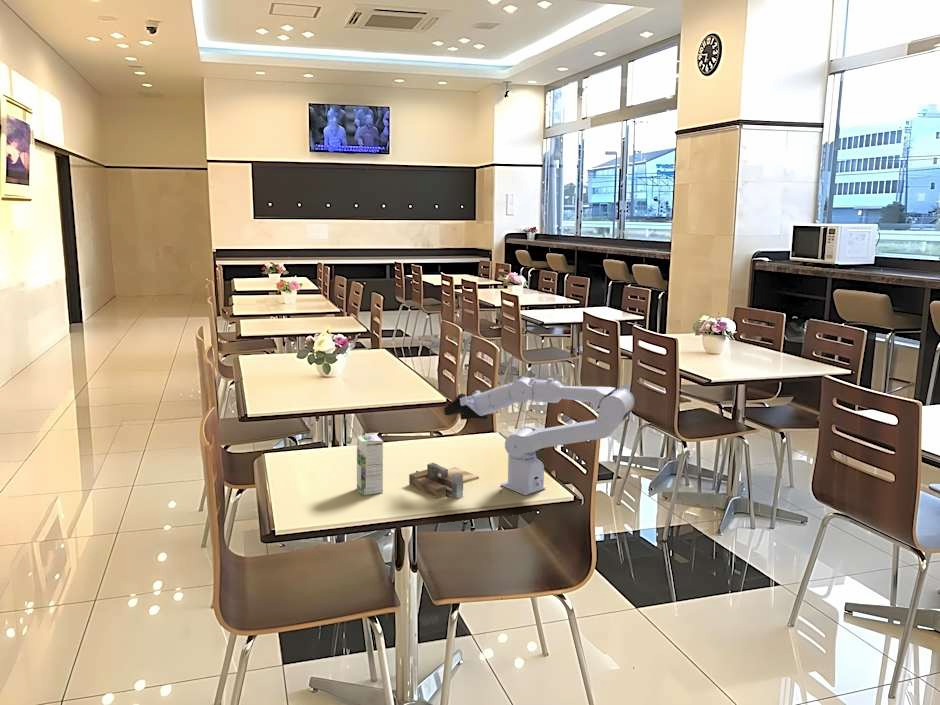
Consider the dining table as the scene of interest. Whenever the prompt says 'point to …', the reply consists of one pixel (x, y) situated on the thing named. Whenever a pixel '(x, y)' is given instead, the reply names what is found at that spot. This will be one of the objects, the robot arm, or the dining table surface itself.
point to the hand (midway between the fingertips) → (453, 413)
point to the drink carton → (369, 464)
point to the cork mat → (466, 475)
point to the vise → (431, 480)
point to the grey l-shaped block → (456, 486)
